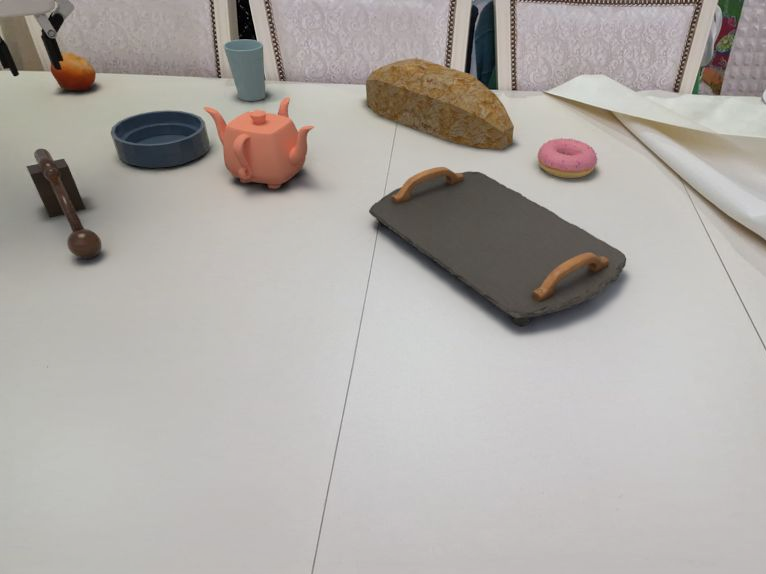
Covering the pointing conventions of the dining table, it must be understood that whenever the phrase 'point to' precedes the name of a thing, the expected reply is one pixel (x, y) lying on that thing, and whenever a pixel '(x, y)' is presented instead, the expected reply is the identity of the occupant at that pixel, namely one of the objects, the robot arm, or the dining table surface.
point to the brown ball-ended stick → (68, 210)
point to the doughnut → (567, 158)
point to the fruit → (74, 73)
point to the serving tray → (500, 242)
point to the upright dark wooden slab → (48, 192)
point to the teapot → (262, 145)
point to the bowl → (160, 138)
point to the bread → (440, 103)
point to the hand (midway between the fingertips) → (35, 68)
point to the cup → (247, 68)
